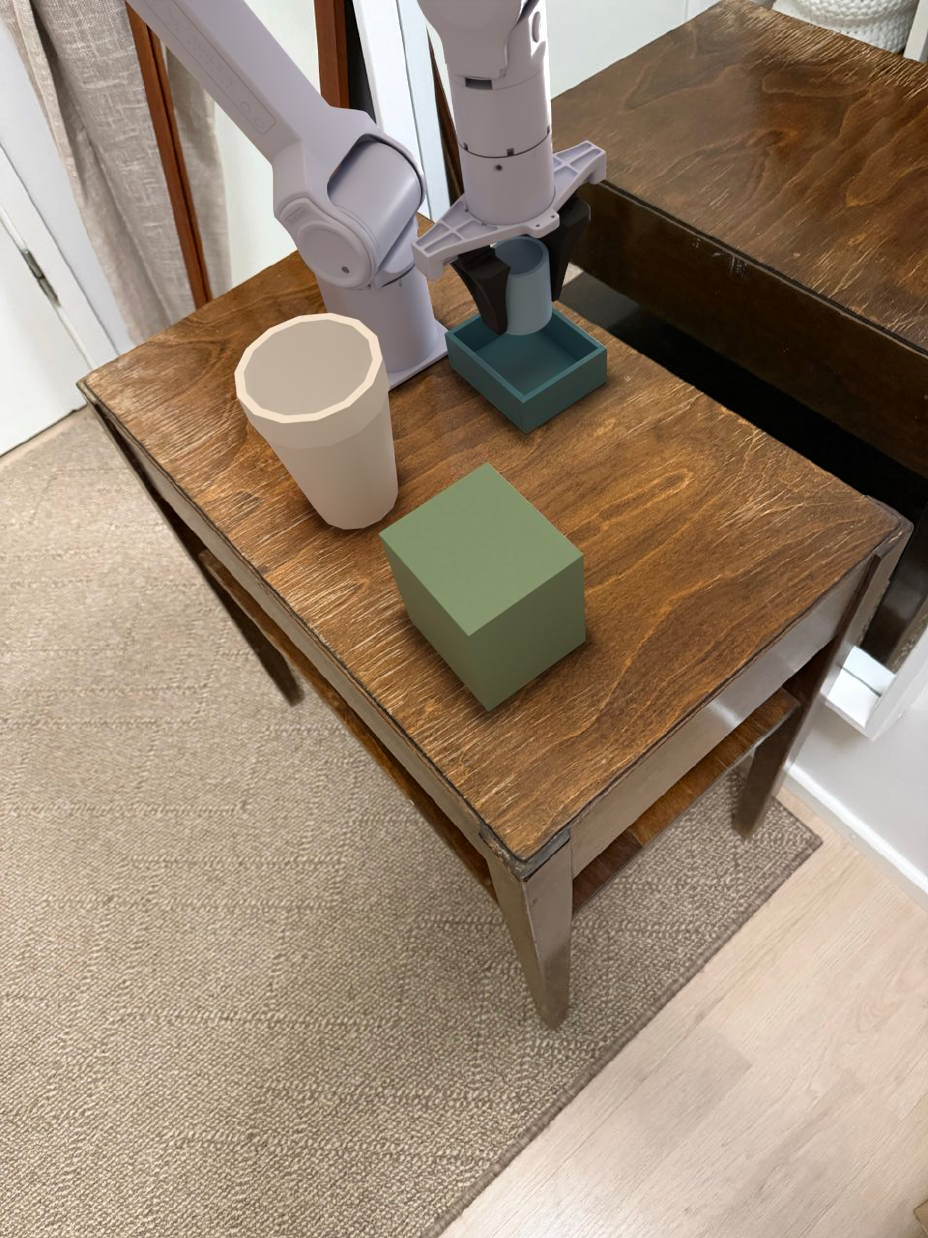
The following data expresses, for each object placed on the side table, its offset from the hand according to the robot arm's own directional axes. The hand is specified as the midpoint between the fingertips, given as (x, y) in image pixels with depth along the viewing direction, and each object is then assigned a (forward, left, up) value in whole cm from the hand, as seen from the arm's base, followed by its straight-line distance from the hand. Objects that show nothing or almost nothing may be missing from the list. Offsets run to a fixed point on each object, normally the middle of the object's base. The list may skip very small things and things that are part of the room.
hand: (521, 310), depth 64 cm
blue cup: (0, 0, 0) cm, 0 cm away
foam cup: (+1, -17, -6) cm, 18 cm away
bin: (0, 0, -6) cm, 6 cm away
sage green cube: (+17, -16, -6) cm, 24 cm away
